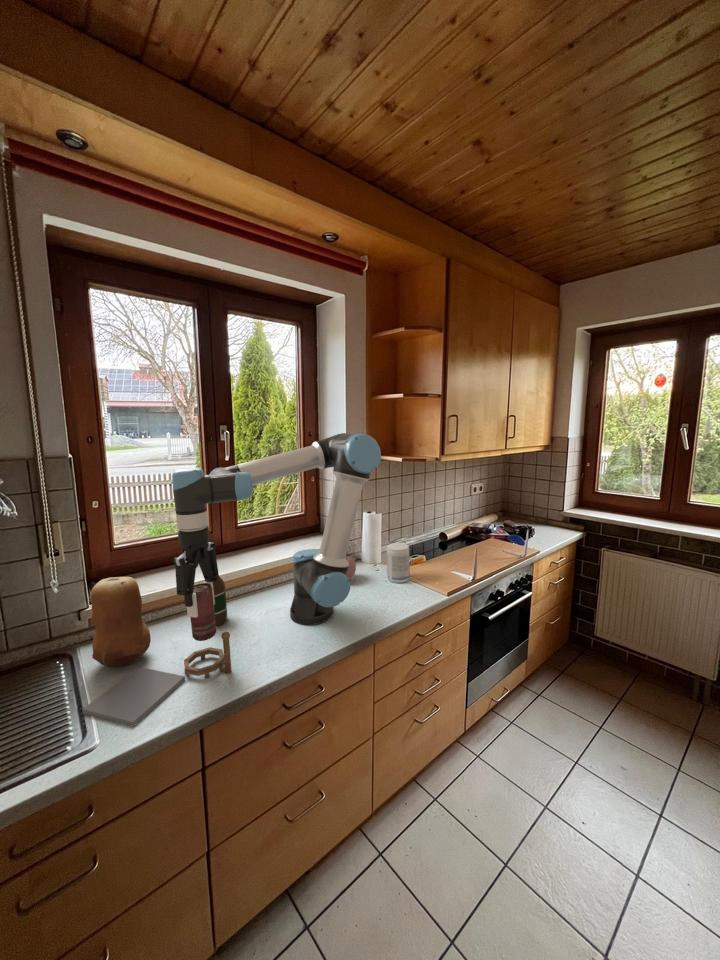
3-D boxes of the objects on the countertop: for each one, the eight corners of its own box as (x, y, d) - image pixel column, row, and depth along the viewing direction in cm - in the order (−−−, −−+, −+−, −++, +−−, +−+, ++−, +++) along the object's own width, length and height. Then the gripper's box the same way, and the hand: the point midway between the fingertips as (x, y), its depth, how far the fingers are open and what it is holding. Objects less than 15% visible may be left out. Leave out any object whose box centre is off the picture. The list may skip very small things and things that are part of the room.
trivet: (185, 680, 100) (184, 676, 100) (133, 726, 85) (133, 721, 84) (139, 671, 104) (139, 666, 104) (82, 713, 89) (82, 709, 89)
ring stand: (242, 661, 107) (239, 623, 106) (220, 684, 98) (217, 642, 96) (202, 654, 111) (198, 617, 109) (176, 675, 102) (173, 635, 100)
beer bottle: (219, 628, 125) (214, 558, 121) (198, 626, 126) (192, 557, 123) (232, 616, 132) (227, 551, 129) (212, 615, 134) (206, 549, 131)
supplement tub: (414, 579, 162) (414, 545, 160) (400, 585, 155) (399, 551, 153) (396, 573, 169) (396, 541, 166) (382, 579, 162) (382, 546, 160)
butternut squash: (141, 643, 117) (132, 566, 114) (160, 659, 109) (151, 576, 105) (88, 665, 107) (76, 581, 103) (104, 685, 98) (93, 594, 95)
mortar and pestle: (343, 572, 170) (343, 548, 168) (362, 580, 161) (361, 554, 160) (322, 580, 162) (321, 554, 160) (340, 589, 153) (339, 562, 152)
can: (196, 630, 107) (190, 583, 104) (219, 628, 107) (214, 581, 105) (188, 642, 101) (182, 593, 98) (212, 640, 101) (207, 591, 99)
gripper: (205, 517, 109) (212, 593, 113) (152, 537, 91) (163, 626, 95) (227, 519, 107) (234, 595, 111) (178, 539, 89) (188, 630, 93)
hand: (201, 609), depth 103 cm, fingers closed on can, 6 cm apart
